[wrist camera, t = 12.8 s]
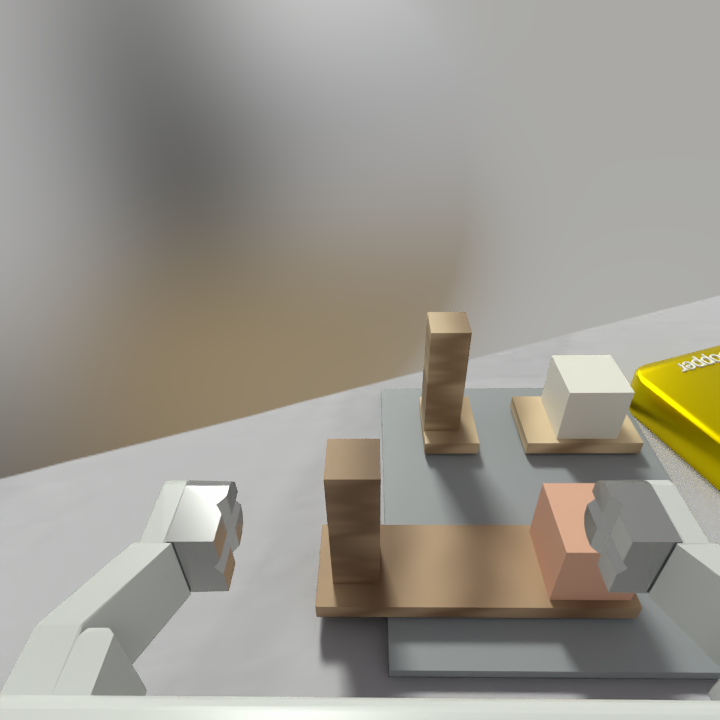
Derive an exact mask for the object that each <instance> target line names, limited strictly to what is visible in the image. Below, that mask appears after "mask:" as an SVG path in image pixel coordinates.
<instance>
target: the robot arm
mask: <svg viewBox="0 0 720 720" xmlns="http://www.w3.org/2000/svg"><path fill="white" fill-rule="evenodd" d="M237 492H238V491H237V488H236V484H235V482H226V481H170V480H168V481H167V482H166V483H165V484H164V485H163V487H162V489H161V491H160V494H159V496H158V498H157V501H156V503H155V506H154V508H153V511H152V513H151V515H150V518H149V520H148V523H147V525H146V527H145V530H144V532H143V535H142V537H141V540H140V542H139V543H132V544H131V545H130V546H128V547H127V548H126V549H125V550H124V551H122V552H121V553H120V554H119V555H118V556H117V557H115V558H114V559H113V560H112V561H111V562H110V563H108V564H107V565H106V566H105V567H104V568H102V569H101V570H100V571H99V572H98V573H97V574H95V575H94V576H93V577H92V578H91V579H90V580H88V581H87V582H86V583H85V584H84V585H82V586H81V587H80V588H79V589H78V590H77V591H75V592H74V593H73V594H72V595H71V596H70V597H68V598H67V599H66V600H65V601H64V602H62V603H61V604H60V605H59V606H58V607H57V608H55V609H54V610H53V611H52V612H51V613H50V614H48V615H47V616H46V617H45V618H44V619H42V620H41V621H40V622H39V623H38V624H37V625H36V626H35V628H34V630H33V631H32V633H31V635H30V637H29V639H28V641H27V643H26V645H25V647H24V649H23V651H22V652H21V654H20V656H19V658H18V660H17V662H16V664H15V666H14V668H13V670H12V672H11V674H10V675H9V677H8V679H7V681H6V683H5V685H4V687H3V689H2V691H1V693H0V720H720V678H719V679H718V681H717V682H716V683H715V684H714V685H713V686H712V688H711V689H710V691H709V693H708V695H709V697H710V699H711V700H605V699H487V698H366V697H238V696H145V694H146V691H147V690H146V688H145V686H144V684H143V682H142V680H141V679H140V677H139V675H138V674H137V672H136V670H135V669H134V667H133V665H132V664H133V663H134V662H135V660H136V659H137V658H138V657H139V656H140V654H141V653H142V652H143V651H144V650H145V648H146V647H147V646H148V645H149V644H150V643H151V641H152V640H153V639H154V638H155V637H156V635H157V634H158V633H159V632H160V631H161V629H162V628H163V627H164V626H165V625H166V623H167V622H168V621H169V620H170V619H171V617H172V616H173V615H174V614H175V613H176V611H177V610H178V609H179V608H180V607H181V605H182V604H183V603H184V602H185V601H186V600H187V598H188V597H189V596H190V595H191V593H190V592H207V591H229V588H230V584H231V579H232V575H233V571H234V567H235V561H234V557H233V553H232V552H233V551H234V550H235V549H236V548H237V547H238V546H239V545H240V540H241V536H242V526H243V515H242V508H241V504H239V503H238V502H237V501H236V496H237ZM592 492H593V495H594V497H595V499H594V500H593V501H591V502H590V503H588V504H587V507H586V510H585V513H584V527H585V532H586V536H587V539H588V542H589V544H590V546H591V547H592V548H593V549H594V550H595V551H597V552H598V553H599V554H600V555H601V556H600V558H599V561H598V564H597V565H598V567H599V570H600V572H601V575H602V577H603V580H604V582H605V585H606V587H607V590H608V592H617V593H649V594H648V596H649V597H650V598H651V599H652V600H653V601H654V602H655V603H656V604H657V605H658V606H659V607H660V608H661V609H662V610H663V611H664V612H665V613H666V614H667V615H668V616H669V617H670V618H671V619H672V620H673V621H674V622H675V623H676V624H677V625H678V626H679V627H680V628H681V629H682V630H683V631H684V632H685V633H686V634H687V635H688V636H689V637H690V638H691V639H692V640H693V641H694V642H695V643H696V644H697V645H698V647H699V648H700V649H701V650H702V651H703V652H704V653H705V654H706V655H707V656H708V657H709V658H710V659H711V660H712V661H713V662H714V663H715V664H716V665H717V666H718V667H719V668H720V545H719V544H716V543H710V542H709V540H708V538H707V537H706V535H705V534H704V532H703V530H702V529H701V527H700V525H699V524H698V522H697V521H696V519H695V517H694V516H693V514H692V513H691V511H690V509H689V508H688V506H687V504H686V503H685V501H684V500H683V498H682V496H681V495H680V493H679V492H678V490H677V488H676V487H675V485H674V484H673V483H672V482H671V481H669V480H599V481H598V482H597V483H595V485H594V488H593V490H592Z"/></svg>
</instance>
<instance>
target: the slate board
mask: <svg viewBox="0 0 720 720" xmlns="http://www.w3.org/2000/svg"><path fill="white" fill-rule="evenodd" d="M543 389H544V388H486V389H464V396H463V397H469V401H470V405H471V409H472V414H473V418H474V422H475V426H476V430H477V435H478V439H479V443H480V444H479V450H478V454H425V453H424V445H423V436H422V428H421V419H420V410H419V400H420V397H422V389H381V407H382V443H383V478H384V513H385V525H531V523H532V519H533V516H534V512H535V509H536V505H537V502H538V498H539V495H540V491H541V488H542V484H543V483H597V482H598V481H599V480H669V481H671V482H672V480H671V479H670V477H669V475H668V474H667V472H666V471H665V469H664V467H663V466H662V464H661V462H660V461H659V459H658V457H657V456H656V454H655V452H654V451H653V449H652V447H651V446H650V444H649V442H648V441H647V439H646V437H645V436H644V434H643V432H642V431H641V429H640V427H639V426H638V424H637V422H636V421H635V419H634V418H633V416H632V414H631V413H630V411H629V409H628V412H627V415H628V417H629V419H630V420H631V422H632V424H633V425H634V427H635V429H636V430H637V432H638V434H639V436H640V437H641V439H642V441H643V442H644V444H643V446H642V449H641V451H640V453H525V450H524V447H523V444H522V441H521V438H520V435H519V432H518V429H517V426H516V423H515V420H514V417H513V414H512V411H511V408H510V404H511V399H512V396H542V393H543ZM672 483H673V482H672ZM648 594H649V593H636V595H637V597H638V599H639V602H640V604H641V606H642V610H641V612H640V613H639V615H638V617H637V618H469V617H387V619H388V654H389V676H407V677H536V678H666V679H719V678H720V668H719V667H718V666H717V665H716V664H715V663H714V662H713V661H712V660H711V659H710V658H709V657H708V656H707V655H706V654H705V653H704V652H703V651H702V650H701V649H700V648H699V647H698V645H697V644H696V643H695V642H694V641H693V640H692V639H691V638H690V637H689V636H688V635H687V634H686V633H685V632H684V631H683V630H682V629H681V628H680V627H679V626H678V625H677V624H676V623H675V622H674V621H673V620H672V619H671V618H670V617H669V616H668V615H667V614H666V613H665V612H664V611H663V610H662V609H661V608H660V607H659V606H658V605H657V604H656V603H655V602H654V601H653V600H652V599H651V598H650V597H649V596H648Z"/></svg>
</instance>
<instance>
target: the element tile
mask: <svg viewBox="0 0 720 720" xmlns="http://www.w3.org/2000/svg"><path fill="white" fill-rule="evenodd" d="M630 386H631V388H632V389H633V391H634V392H635V393H634V396H633V399H632V401H631V404H630V406H629V411H630V413H631V414H632V415H633V416H634V417H635V418H637V419H638V420H639V421H640V422H641V423H642V424H643V425H645V426H646V427H647V428H648V429H649V430H650V431H651V432H653V433H654V434H655V435H656V436H657V437H658V438H659V439H661V440H662V441H663V442H664V443H665V444H666V445H668V446H669V447H670V448H671V449H672V450H673V451H674V452H676V453H677V454H678V455H679V456H680V457H681V458H682V459H684V460H685V461H686V462H687V463H688V464H689V465H690V466H692V467H693V468H694V469H695V470H696V471H697V472H699V473H700V474H701V475H702V476H703V477H704V478H705V479H707V480H708V481H709V482H710V483H711V484H712V485H713V486H715V487H716V488H717V489H718V490H719V491H720V346H716V347H712V348H708V349H704V350H700V351H696V352H693V353H689V354H685V355H681V356H677V357H673V358H670V359H666V360H662V361H658V362H654V363H650V364H646V365H643V366H641V367H639V368H638V369H637V370H636V371H635V374H634V377H633V379H632V382H631V385H630Z"/></svg>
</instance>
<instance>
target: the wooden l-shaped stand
mask: <svg viewBox="0 0 720 720" xmlns="http://www.w3.org/2000/svg"><path fill="white" fill-rule="evenodd" d="M380 485H381V478H380V439H327V449H326V460H325V471H324V488H325V500H326V511H327V522H328V525H322V536H321V548H320V560H319V571H318V583H317V595H316V606H315V607H316V615H317V617H469V618H637V617H638V615H639V613H640V612H641V610H642V606H641V604H640V602H639V599H638V597H637V595H636V593H634V595H633V597H632V599H631V600H549V597H548V594H547V591H546V587H545V584H544V580H543V577H542V573H541V570H540V566H539V563H538V560H537V556H536V553H535V549H534V546H533V542H532V539H531V535H530V532H529V530H530V526H531V525H380Z"/></svg>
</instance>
